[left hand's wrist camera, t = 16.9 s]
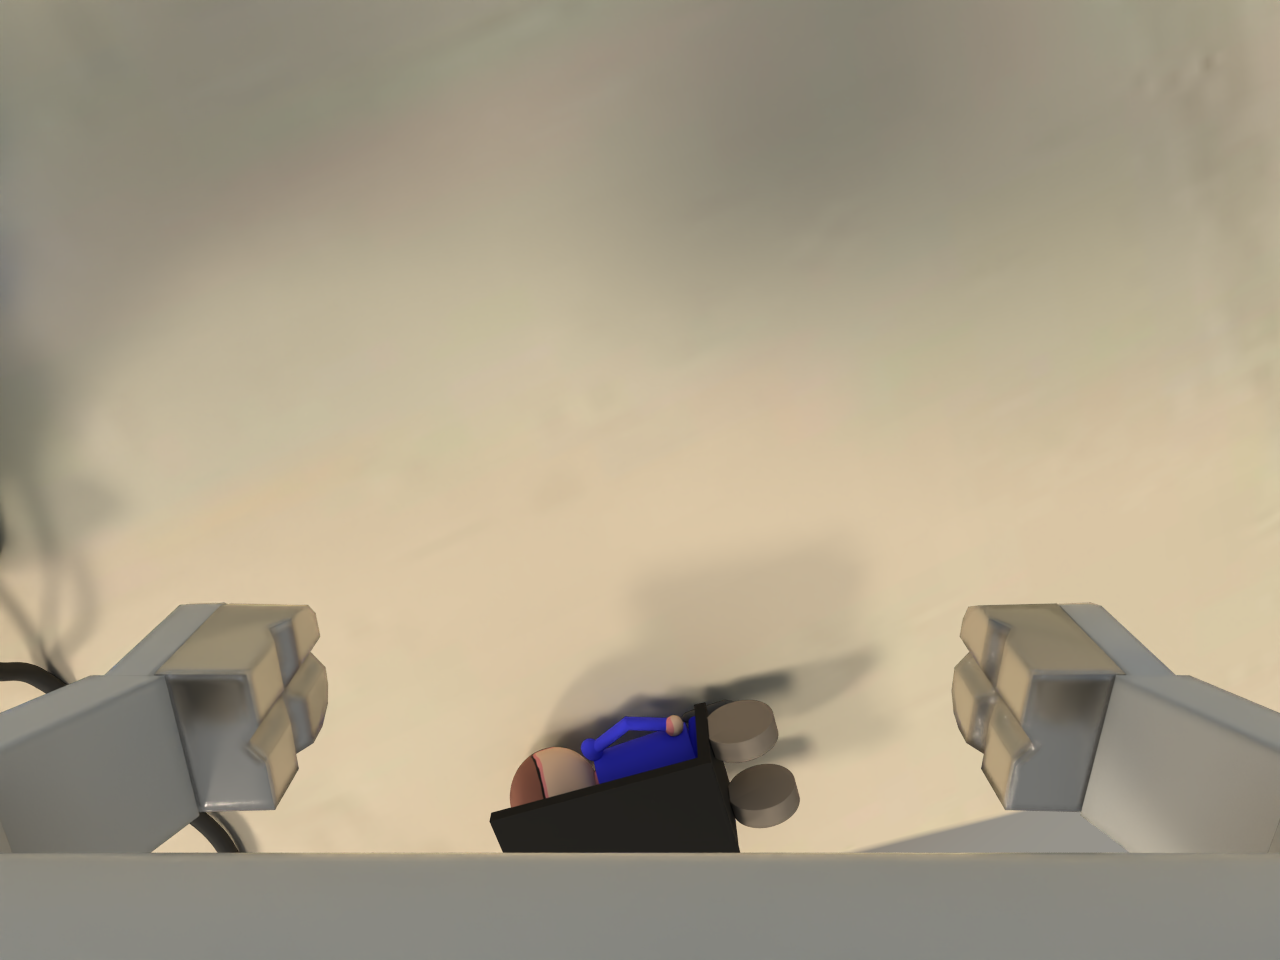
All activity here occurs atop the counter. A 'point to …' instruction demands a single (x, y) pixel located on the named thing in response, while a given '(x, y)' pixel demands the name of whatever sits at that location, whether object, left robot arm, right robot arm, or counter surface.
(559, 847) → the figurine character
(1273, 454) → the counter surface
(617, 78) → the counter surface
